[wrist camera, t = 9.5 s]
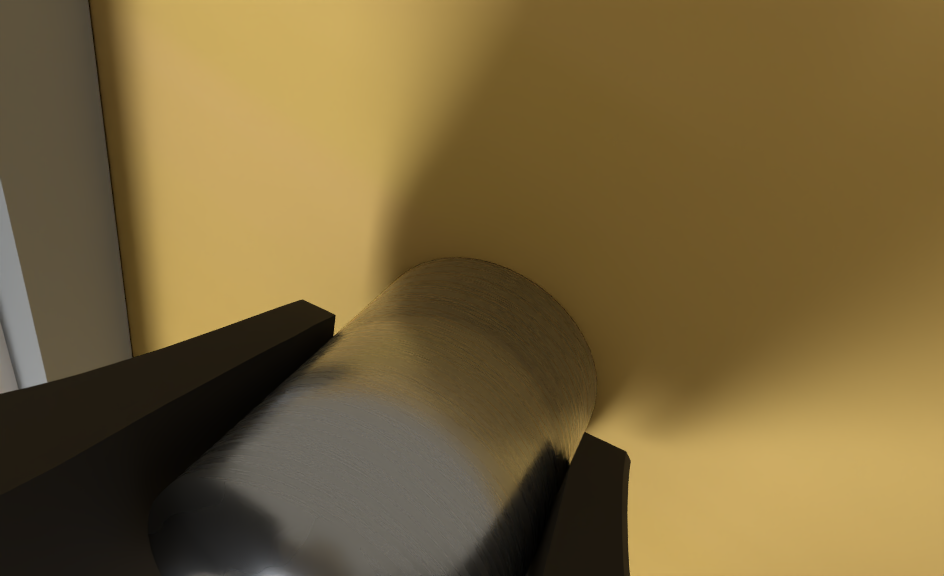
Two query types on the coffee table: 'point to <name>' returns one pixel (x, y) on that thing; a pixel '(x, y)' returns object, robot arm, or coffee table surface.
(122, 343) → the white grey-edged panel
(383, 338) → the cylinder
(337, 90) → the coffee table surface
